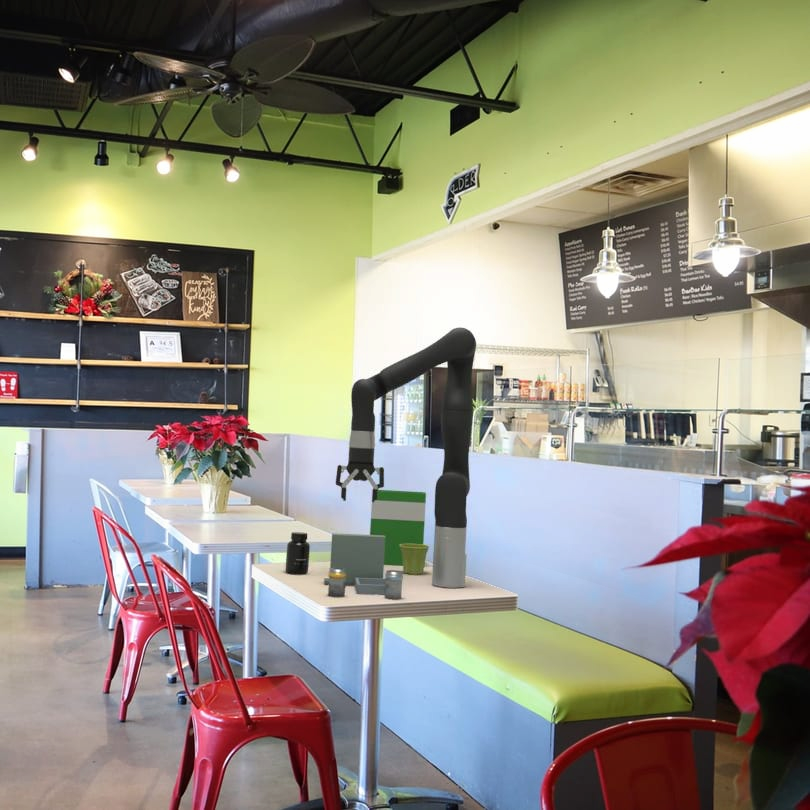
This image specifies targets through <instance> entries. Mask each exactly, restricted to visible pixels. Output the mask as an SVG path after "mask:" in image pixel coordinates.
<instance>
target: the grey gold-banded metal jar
mask: <svg viewBox="0 0 810 810" xmlns="http://www.w3.org/2000/svg"><path fill="white" fill-rule="evenodd" d="M328 578H329V585H328V590H327V591H328V593H327V597H330V598H331V597H332V598H344V597H345V596H346V586H345V582H346V569H344V568H330V567H329V572H328Z"/></svg>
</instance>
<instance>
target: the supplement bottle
mask: <svg viewBox="0 0 810 810" xmlns="http://www.w3.org/2000/svg"><path fill="white" fill-rule="evenodd" d="M290 535H291V537H290V539H291V541H289V542H287V544H286V545H287V546H286V557H285V573H286V574H289V575H307V574H308V572H309V565H310V564H309V563H310V562H309V561H310V552H311V551H310V550H311V548H310V547H311V546H310V543H309V542H308V533H306V532H301V531H299V532H297V531H294V532H291V534H290Z"/></svg>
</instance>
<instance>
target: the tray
mask: <svg viewBox="0 0 810 810" xmlns="http://www.w3.org/2000/svg"><path fill="white" fill-rule="evenodd" d="M385 584H386V579H385V578H383V579H378V578H355V586H354V590H355V593H356V594H357V595H375V594H379V596H381V595H382V596H385Z"/></svg>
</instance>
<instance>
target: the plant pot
mask: <svg viewBox="0 0 810 810" xmlns="http://www.w3.org/2000/svg"><path fill="white" fill-rule="evenodd" d="M399 546H400V547H401V551H402V559H403V566H402V569H403V571H402V572H403V573H404V574H409V575H420V574H421V575H423V574H424V569H425V563H426V557H427V553H428V551H429V549H430V545H428V544H423V545H422V544H400V545H399Z"/></svg>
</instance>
